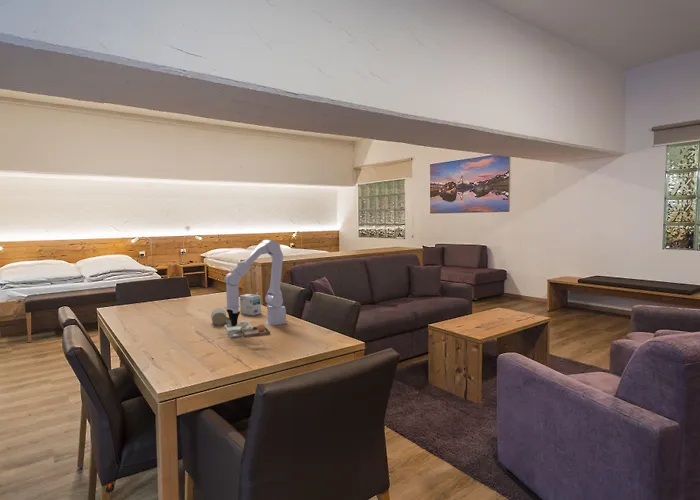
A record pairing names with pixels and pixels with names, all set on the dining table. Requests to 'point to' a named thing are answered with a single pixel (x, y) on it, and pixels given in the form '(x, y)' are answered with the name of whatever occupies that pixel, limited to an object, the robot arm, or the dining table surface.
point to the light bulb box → (250, 304)
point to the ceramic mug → (219, 317)
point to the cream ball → (243, 324)
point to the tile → (235, 335)
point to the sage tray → (237, 328)
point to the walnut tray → (254, 332)
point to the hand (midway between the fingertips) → (233, 324)
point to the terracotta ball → (261, 327)
